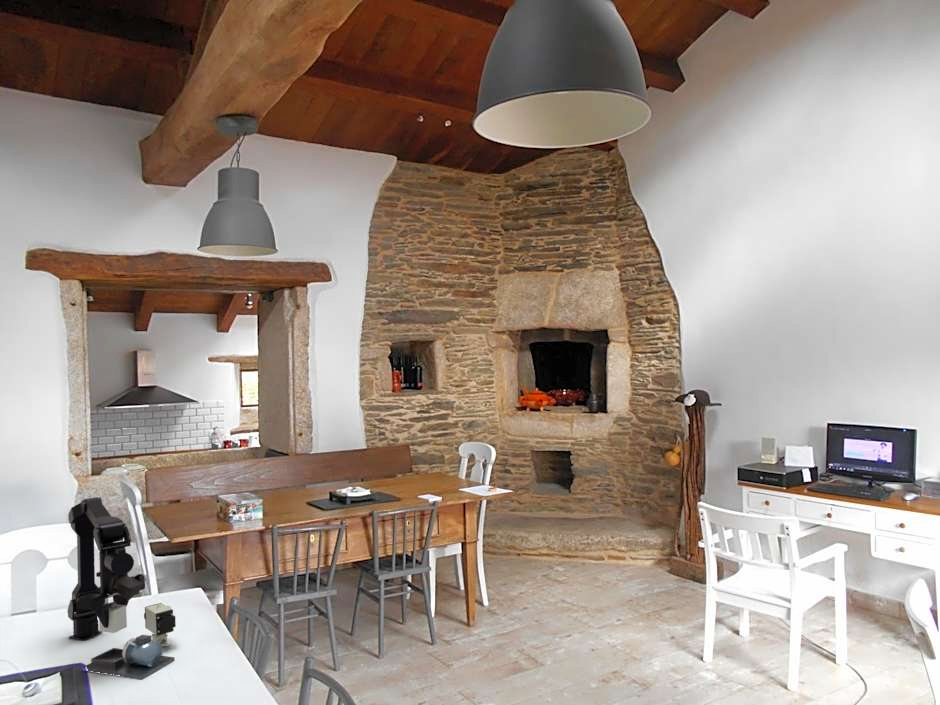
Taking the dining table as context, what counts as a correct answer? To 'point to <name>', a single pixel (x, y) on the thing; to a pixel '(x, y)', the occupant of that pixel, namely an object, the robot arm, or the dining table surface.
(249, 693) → the dining table surface
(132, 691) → the dining table surface
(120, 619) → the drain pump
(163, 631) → the pneumatic valve
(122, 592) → the robot arm
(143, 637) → the motor mount
